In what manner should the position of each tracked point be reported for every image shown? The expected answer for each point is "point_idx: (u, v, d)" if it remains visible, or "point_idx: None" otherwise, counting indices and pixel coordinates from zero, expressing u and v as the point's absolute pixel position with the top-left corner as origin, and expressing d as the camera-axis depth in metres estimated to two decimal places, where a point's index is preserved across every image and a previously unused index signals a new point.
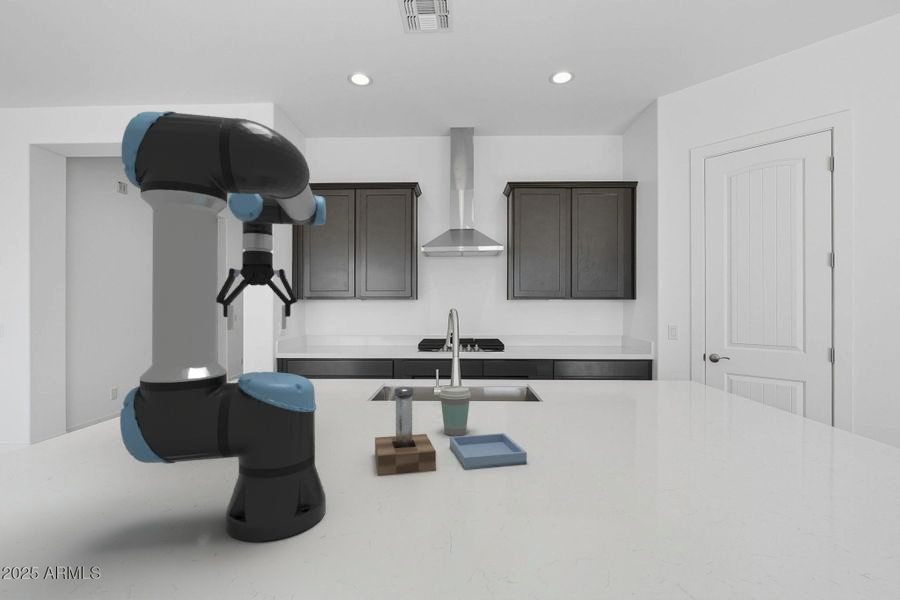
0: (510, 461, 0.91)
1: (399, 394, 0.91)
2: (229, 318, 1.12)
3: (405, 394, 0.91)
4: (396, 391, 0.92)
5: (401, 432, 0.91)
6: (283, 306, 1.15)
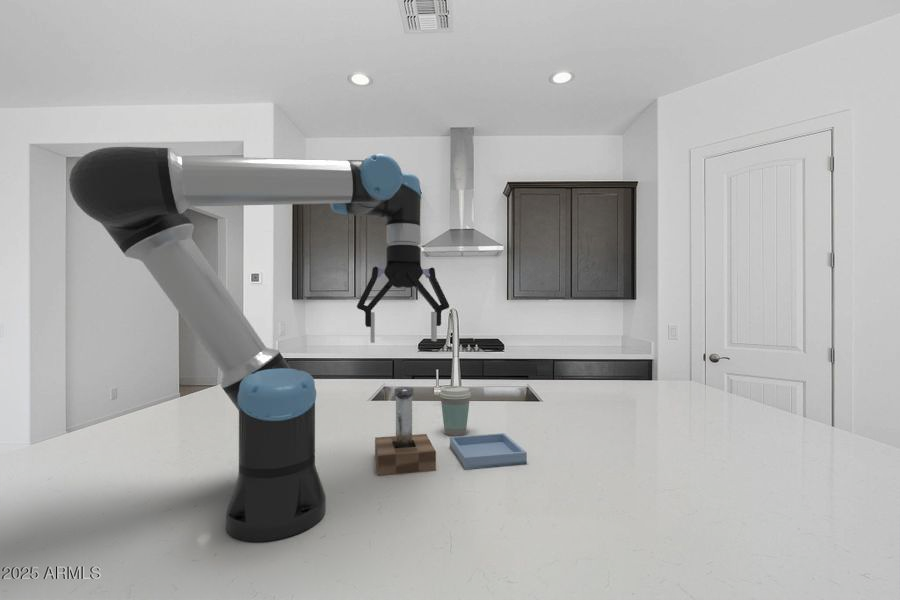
0: (510, 461, 0.91)
1: (399, 394, 0.91)
2: (373, 328, 0.91)
3: (405, 394, 0.91)
4: (396, 391, 0.92)
5: (401, 432, 0.91)
6: (435, 313, 0.94)
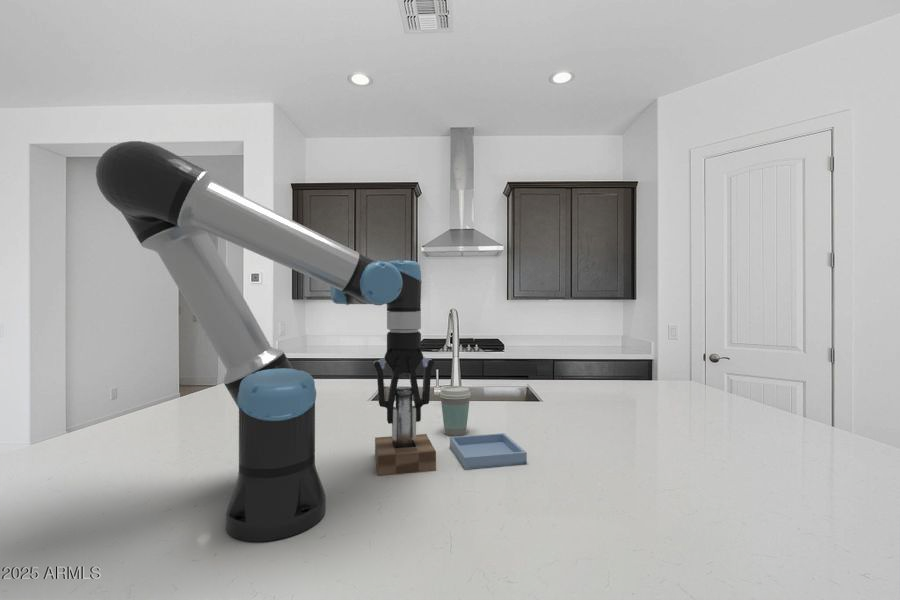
0: (510, 461, 0.91)
1: (399, 394, 0.91)
2: (395, 425, 0.91)
3: (405, 394, 0.91)
4: (396, 391, 0.92)
5: (401, 432, 0.91)
6: (414, 409, 0.92)
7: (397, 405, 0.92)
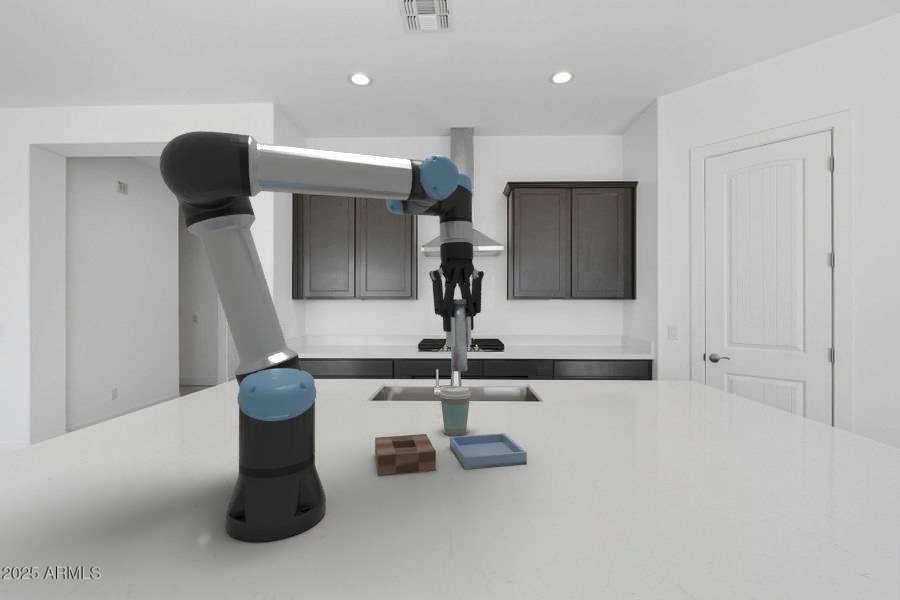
0: (510, 461, 0.91)
1: (457, 302, 0.94)
2: (454, 333, 0.94)
3: (462, 302, 0.94)
4: (453, 300, 0.94)
5: (460, 340, 0.94)
6: (469, 318, 0.96)
7: (454, 314, 0.95)
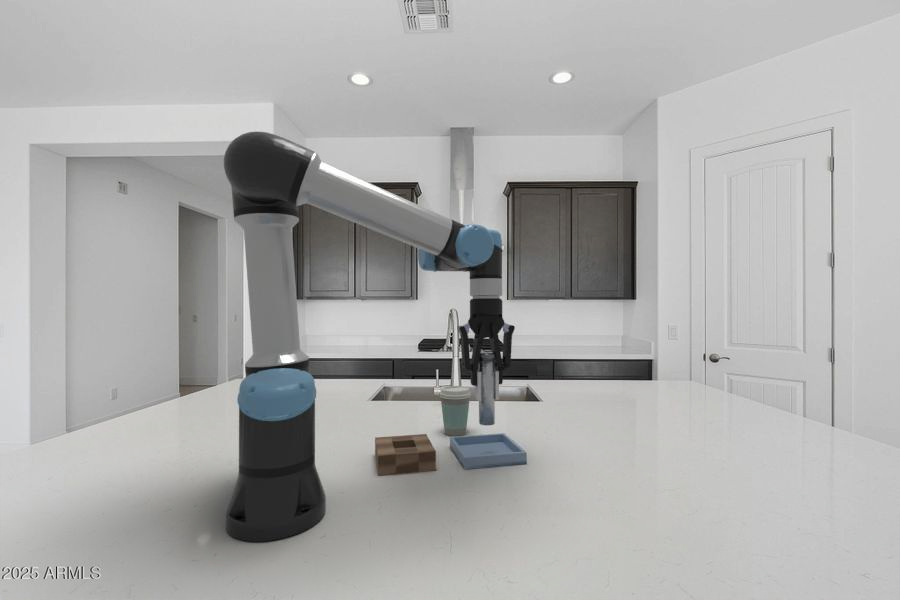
0: (510, 461, 0.91)
1: (483, 357, 0.96)
2: (480, 387, 0.96)
3: (489, 357, 0.95)
4: (480, 355, 0.96)
5: (486, 394, 0.96)
6: (497, 372, 0.97)
7: (481, 368, 0.96)
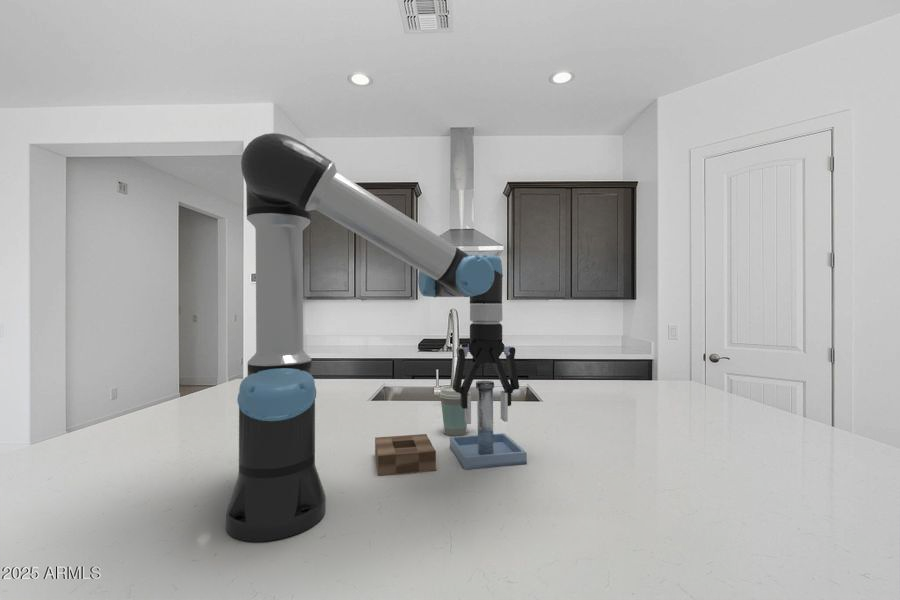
0: (510, 461, 0.91)
1: (482, 387, 0.95)
2: (469, 410, 0.95)
3: (488, 387, 0.95)
4: (478, 384, 0.96)
5: (484, 424, 0.95)
6: (506, 394, 0.97)
7: (479, 398, 0.96)
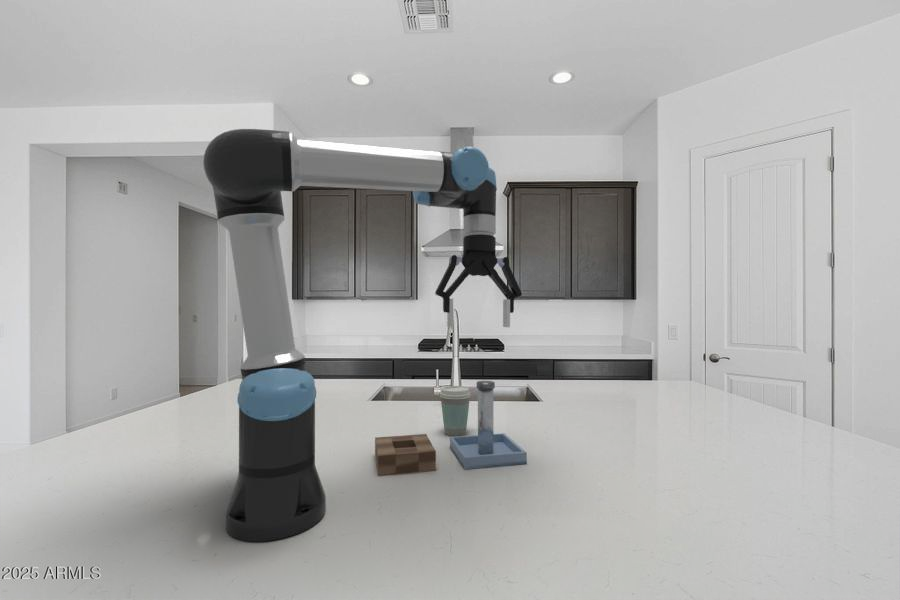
0: (510, 461, 0.91)
1: (482, 387, 0.95)
2: (452, 314, 0.95)
3: (488, 387, 0.95)
4: (479, 384, 0.96)
5: (485, 424, 0.96)
6: (508, 300, 0.98)
7: (480, 398, 0.96)
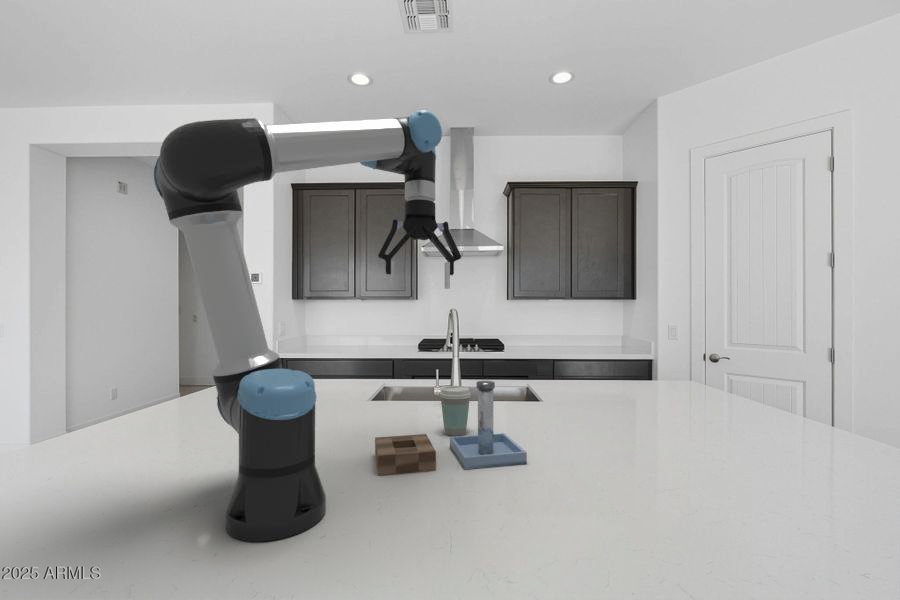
0: (510, 461, 0.91)
1: (482, 387, 0.95)
2: (393, 275, 1.00)
3: (488, 387, 0.95)
4: (479, 384, 0.96)
5: (485, 424, 0.96)
6: (448, 263, 1.03)
7: (480, 398, 0.96)
